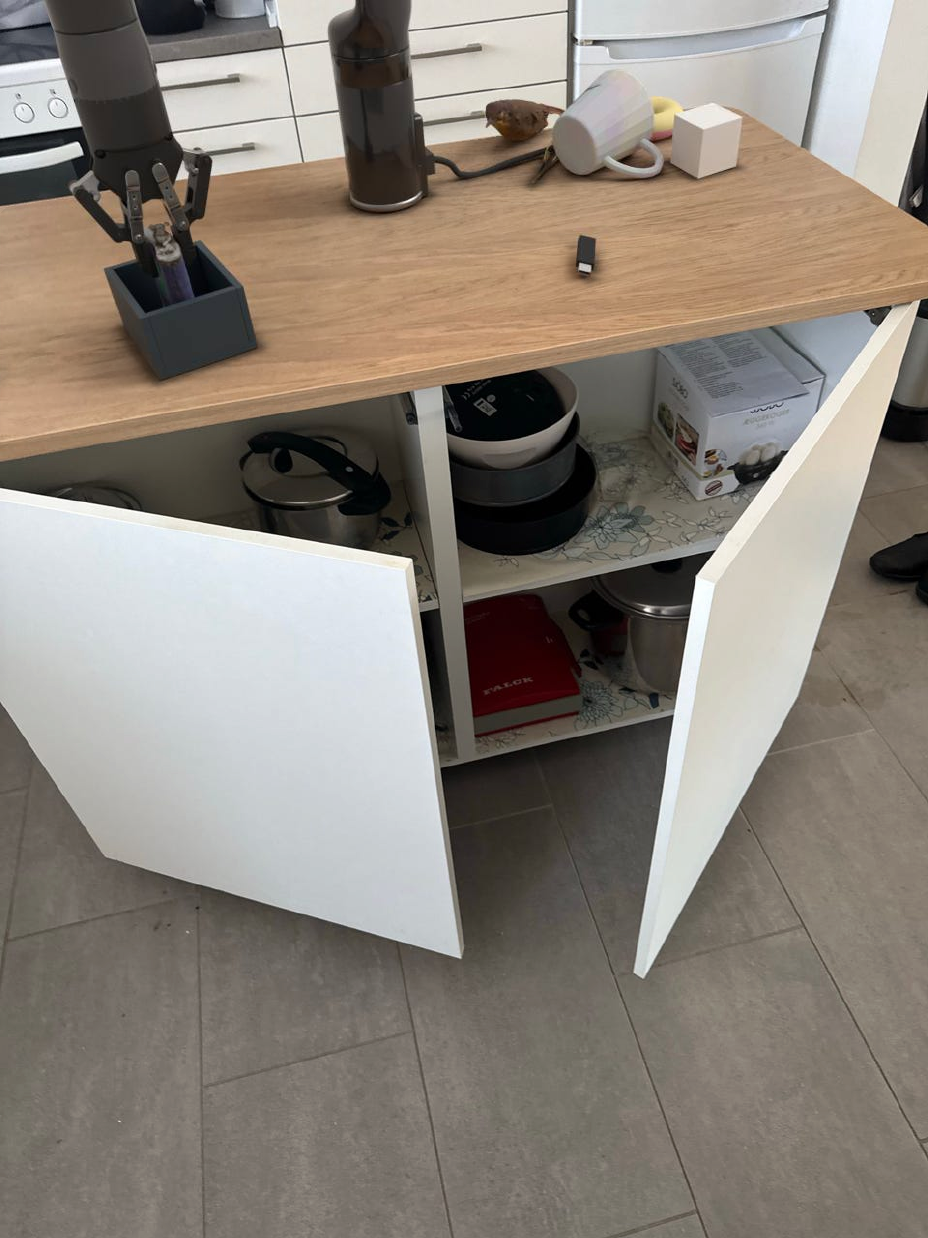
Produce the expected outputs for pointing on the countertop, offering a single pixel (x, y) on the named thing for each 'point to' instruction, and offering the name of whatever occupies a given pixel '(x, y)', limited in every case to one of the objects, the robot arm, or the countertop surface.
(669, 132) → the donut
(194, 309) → the box
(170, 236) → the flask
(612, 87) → the mug
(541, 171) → the brown clothespin
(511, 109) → the bird sculpture
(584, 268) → the usb flash drive
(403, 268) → the countertop surface
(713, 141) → the white cube
